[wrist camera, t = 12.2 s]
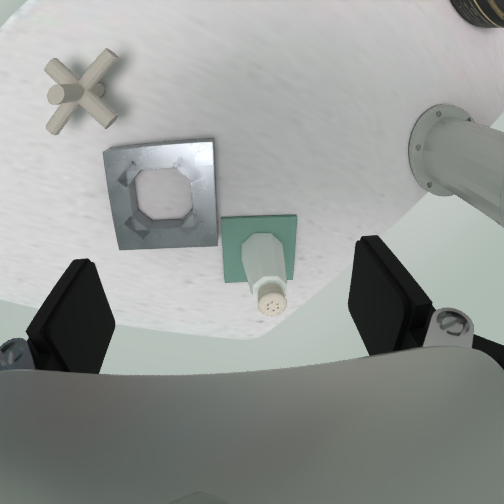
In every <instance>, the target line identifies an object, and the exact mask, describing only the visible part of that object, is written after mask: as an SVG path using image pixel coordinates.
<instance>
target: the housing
mask: <svg viewBox="0 0 504 504" xmlns="http://www.w3.org/2000/svg"><path fill="white" fill-rule="evenodd" d="M103 158H104V166H105V173H106V180H107V187H108V193H109V199H110V205H111V211H112V216H113V221H114V227H115V232H116V237H117V242H118V246H119V250H135V249H159V248H183V247H208V246H218V225H217V206H216V185H215V162H214V138H207V139H190V140H176V141H164V142H153V143H143V144H134V145H125V146H117V147H110V148H109V149H107V150H105V151H104V152H103ZM174 167H175V168H176V169H177V170H178V171H179V172H181V173H182V174H183V175H184V176H185V177H186V178H188V179H189V180H190V181H191V194H192V207H193V209H192V210H191V211H190V212H189V213H188V214H187V215H186V216H185V217H184V218H183V219H170V220H151V219H150V218H149V217H148V216H146V215H145V214H144V213H143V212H141V211H140V210H139V209H138V202H137V195H136V188H135V180H134V179H135V177H136V176H137V175H138V174H139V172H140V171H141V170H149V169H161V168H174Z"/></svg>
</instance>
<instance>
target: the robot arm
mask: <svg viewBox="0 0 504 504" xmlns="http://www.w3.org/2000/svg"><path fill="white" fill-rule="evenodd" d="M415 146H416V147H415ZM409 158H410V165H411V168H412V171H413V174H414V176H415V178H416V179H417V181H418V182H419V183H420V185H421V186H422V187H423V188H425V189H426V190H427V191H429V192H431V193H433V194H435V195H438V196H450V195H454V194H455V195H457V196H458V197H460V198H462V199H463V200H465V201H466V202H468V203H469V204H471V205H472V206H474V207H475V208H477V209H478V210H480V211H481V212H483V213H484V214H485V215H487V216H488V217H490V218H491V219H493V220H494V221H495V222H497V223H498V224H500V225H501V226H502V227H504V132H501V131H498V130H495V129H492V128H489V127H486V126H483V125H479V124H476V123H475V122H474V120H473V119H472V117H471V116H470V115H469V114H468V113H467V112H465V111H464V110H463V109H461V108H459V107H456V106H452V105H438V106H435V107H433V108H431V109H429V110H428V111H426V112H425V113H424V114H423V115H422V116H421V118H420V119H419V120H418V122H417V123H416V125H415V127H414V129H413V132H412V135H411V139H410V146H409ZM348 308H349V312H350V314H351V316H352V318H353V320H354V323H355V324H356V327H357V329H358V331H359V333H360V336H361V338H362V340H363V342H364V344H365V347H366V349H367V351H368V353H369V356H367V357H361V358H355V359H349V360H343V361H336V362H330V363H323V364H315V365H307V366H299V367H290V368H282V369H270V370H260V371H247V372H234V373H217V374H194V375H110V374H99V372H100V369H101V366H102V363H103V360H104V357H105V354H106V351H107V348H108V346H109V343H110V340H111V338H112V335H113V332H114V329H115V319H114V317H113V314H112V311H111V309H110V306H109V303H108V301H107V298H106V295H105V292H104V289H103V287H102V284H101V281H100V278H99V275H98V272H97V269H96V266H95V264H94V262H91V261H90V260H89V259H88V258H87V259H76V260H73V261H72V263H71V264H70V265H69V267H68V268H67V269H66V271H65V272H64V274H63V275H62V276H61V278H60V279H59V281H58V282H57V284H56V285H55V286H54V288H53V289H52V291H51V292H50V294H49V295H48V297H47V298H46V300H45V301H44V303H43V304H42V306H41V307H40V309H39V311H38V312H37V314H36V315H35V317H34V318H33V320H32V322H31V323H30V325H29V327H28V328H27V330H26V333H27V335H28V336H29V338H28V340H27V341H26V340H24V339H23V338H13V339H11V340H8V341H7V342H5V343H4V344H2V345H1V346H0V504H504V345H501V344H498V343H495V342H493V341H490V340H487V339H485V338H483V337H480V336H477V335H475V334H473V333H474V325H473V323H472V321H471V319H470V318H469V317H468V316H467V315H466V314H465V313H463V312H462V311H459V310H457V309H453V308H441V309H438V310H437V311H436V310H435V308H434V307H433V306H432V301H431V300H430V299H429V297H428V296H427V295H426V293H425V292H424V291H423V289H422V288H421V287H420V286H419V285H418V283H417V282H416V281H415V279H414V278H413V277H412V276H411V274H410V273H409V272H408V271H407V270H406V268H405V267H404V266H403V265H402V264H401V262H400V261H399V260H398V259H397V257H396V256H395V255H394V254H393V253H392V251H391V250H390V249H389V248H388V247H387V246H386V244H385V243H384V242H383V241H382V240H381V239H380V237H379V236H377V235H372V236H362V237H361V239H360V240H359V241H356V245H355V253H354V262H353V270H352V278H351V285H350V292H349V299H348Z"/></svg>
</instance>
